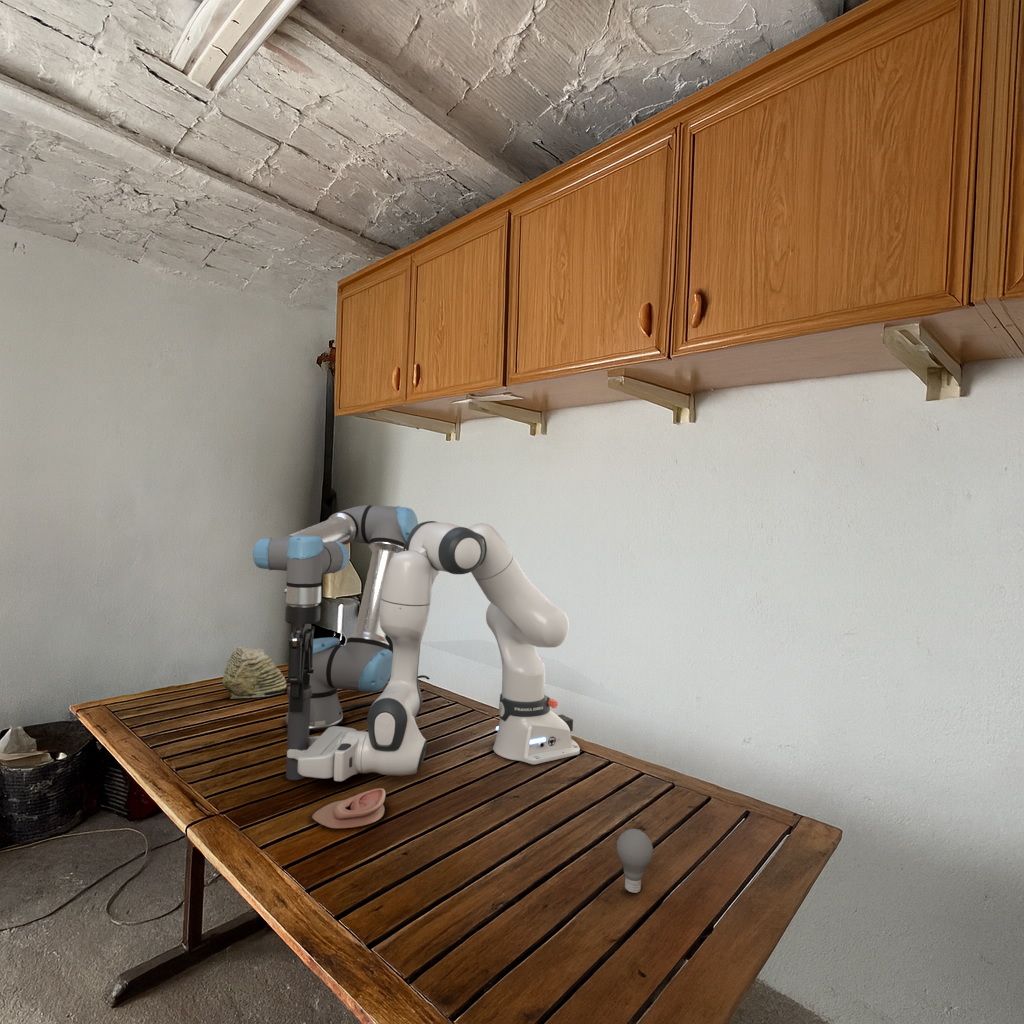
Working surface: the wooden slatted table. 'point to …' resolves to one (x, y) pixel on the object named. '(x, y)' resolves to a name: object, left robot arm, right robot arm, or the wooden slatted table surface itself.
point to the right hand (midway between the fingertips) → (293, 747)
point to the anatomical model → (353, 810)
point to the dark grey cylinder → (297, 737)
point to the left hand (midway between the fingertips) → (299, 706)
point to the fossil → (252, 674)
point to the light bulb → (634, 857)
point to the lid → (306, 691)
